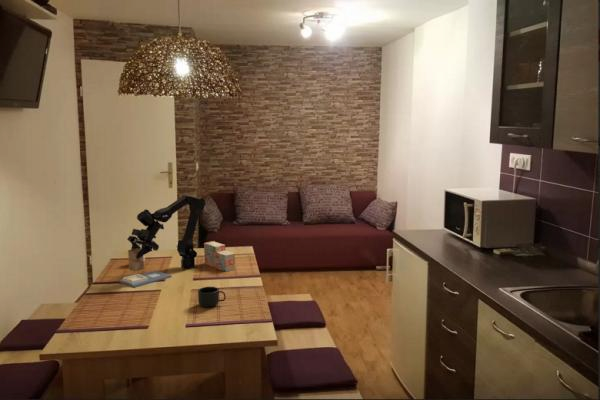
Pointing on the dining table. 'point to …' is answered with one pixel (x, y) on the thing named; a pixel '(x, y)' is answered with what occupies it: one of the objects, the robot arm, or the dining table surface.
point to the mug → (209, 296)
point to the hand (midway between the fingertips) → (133, 257)
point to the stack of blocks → (219, 256)
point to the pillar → (135, 260)
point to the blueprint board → (144, 278)
